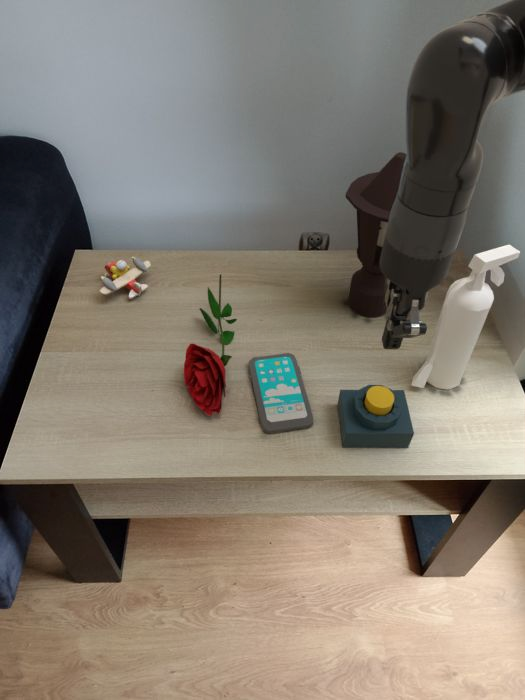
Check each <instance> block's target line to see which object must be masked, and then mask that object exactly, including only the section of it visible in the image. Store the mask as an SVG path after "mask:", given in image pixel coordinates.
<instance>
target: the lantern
mask: <svg viewBox="0 0 525 700" xmlns="http://www.w3.org/2000/svg"><path fill="white" fill-rule="evenodd" d="M406 155H407V153H405V152H401V151H400V152H397V153H395V154H394V156H393V157H391V159H390V160H389V161H387V163H386V164H385V165H384V166H383V167H382V168H381V169H380V170H379V171H377V172H371V173H367V174H364V175H361V176H358V177H357V178H356V179H355V180H353V181H352V182H351V183H350V185H349V187H348V189H347V190H346V192H345V199H346V200H347V201H348V202H349V203H350V204H351V206H352V207H353V208H354V209H355V210H356V226H357V227H356V228H357V229H356V230H357V231H356V232H357V248H356V256H357V259H358V260H359V262H360V263H361V266H362V267H360V269H358V270H356V271H355V272H353V274H352V276H351V279H350V285H349V290H348V295H347V305H348V307H349V309H350V310H351V311H352V312H354V314H357V315H358V316H359V317H365V318H372V319H373V318H379V317H383V316H385V314H386V309H387V308H384V305H383V302H384V290H385V276H384V274H383V273H382V271H381V269H380V265H379V261H380V256H381V252H382V247H383V243H384V238H385V234H386V230H387V225H388V221H389V216H390V212H391V209H392V206H393V203H394V201H395V198H396V195H397V192H398V188H399V183H400V179H401V175H402V170H403V166H404V162H405V159H406Z"/></svg>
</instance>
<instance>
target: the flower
mask: <svg viewBox="0 0 525 700" xmlns="http://www.w3.org/2000/svg"><path fill="white" fill-rule="evenodd" d="M207 300H208V305H209V308H210V310H211V314H212V316H213V318H214V319H216V320H217V326H216V325H215V323H214V321H213V319H212V317H211V316H210V315H209V313H208V312H206V311H205V310H204V309H203V308H201V307H199V310H200V313H201V315H202V317H203V319H204V321H205V323H206V325H207V327H208V328H209V330H210V331H211V332H212V333H213V334H215V335H217V334H218V336H219V337H220V341H221V347H222V349H221V357H220V356H219V355H218V354H217V353H216V352H214V350H212V349H210V348H208V347H204V346H201V345H198V344H196V343H189V345H188V346H187V348H186V349H185V350H186V351H185V358H184V360H185V361H184V362H183V363H184V364H183V377H184V384H185V386H186V387H187V392H188V394H189V396H190V398H192V401H194V404H195V406H196V407H198V408H199V410H201V411H202V412H203V413H204V414H205V415H207V416H208V417H212V415H213V414H214V413H216V414H217V415H220V414H221V411H222V405H223V403H222V402H223V398H226V388H227V383H226V368H225V367H226V366H227V365H228V364H229V361H230V360H231V359H232V358H233V356H232V355H229V354H225V346H226V345H229V344H231V343H232V341H233V340H234V336H235V331H234V330H233V331H232V330H231V331H230V330H223V327H222V320H224V321H225V322H226V323H227V324H229V325H232V324H234V323H236V322H237V320H238V318H231V319H225V318H229V317H231V316H232V313H233V307H232V306H231V304H230V303H229V302H226V305H225V306H224V307H223V308H222V274H221V273H220V274H219V280H218V301H217V300H216V298H215V295H214V294H213V292H212V291H211V289H210V288H209V286H207ZM221 308H222V309H221Z"/></svg>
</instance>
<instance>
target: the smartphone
mask: <svg viewBox="0 0 525 700" xmlns="http://www.w3.org/2000/svg"><path fill="white" fill-rule="evenodd" d="M300 369H301V368H300V366H299V364H298V361H297V358H296V356H295V354H293V353H291V352H290V353H289V352H286V353H285V352H284V353H278V354H270V355H263V356H254V357H252V358H250V359H249V361H248V373H249V376H250V382H251V384H252V389H253V394H254V398H255V403H256V408H257V412H258V417H259V421H260V426H261V428H262V430H263V431H264V432H265V433H266V434H277V433H283V432H290V431H291V432H292V431H296V430H297V431H298V430H304V429H309V428H311V427H312V426H313V425H314V415H313V410H312V407H311V404H310V401H309V398H308V393H307V391H306V388H305V384H304V381H303V377H302V372H301V370H300Z"/></svg>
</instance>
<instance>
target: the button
mask: <svg viewBox="0 0 525 700" xmlns="http://www.w3.org/2000/svg"><path fill="white" fill-rule="evenodd" d="M383 386H384V385H383ZM383 386H373V387H371V388H370V389H369V390H368V391H367V394H366V398H365V401H364V404H365V407H366V409H367V410H368V411H369V412H370V413H371V414H374V415H377V416H383V415H386V414H388V413H389V412H390V411H391V408H392V405H393V402H394V395H393V393H392V392H391V391H390V390H389V389H388V388H389V387H387V386H385V387H383ZM386 387H387V388H386Z"/></svg>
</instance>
